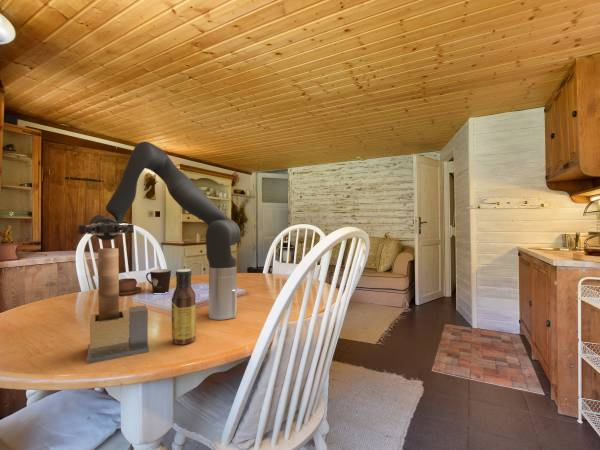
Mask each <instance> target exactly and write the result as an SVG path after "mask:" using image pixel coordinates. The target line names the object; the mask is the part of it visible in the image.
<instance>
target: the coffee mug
mask: <svg viewBox="0 0 600 450" xmlns="http://www.w3.org/2000/svg"><path fill="white" fill-rule="evenodd" d="M149 274H150V280H151V281H150V280H149V277H148V276H149ZM171 275H172V270H171V269H168V268H161V269H160V268H159V269H152V270H150V271H149V272H147V273H146V275H145V278H146V280H147V282H149V283H150V285H151V287H152V288H151V289H152V294H153V293H165V292H168V293H169V290H170V284H171V283H170V282H171Z"/></svg>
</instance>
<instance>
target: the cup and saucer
mask: <svg viewBox="0 0 600 450" xmlns="http://www.w3.org/2000/svg"><path fill="white" fill-rule="evenodd" d="M137 285H138V280H137V279H136V278H130V277H129V278H121V279H120V278H119V296H130V295H134V294H137V293H140V292H141V291H142V289H143V288H142V287H140V286H137Z"/></svg>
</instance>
